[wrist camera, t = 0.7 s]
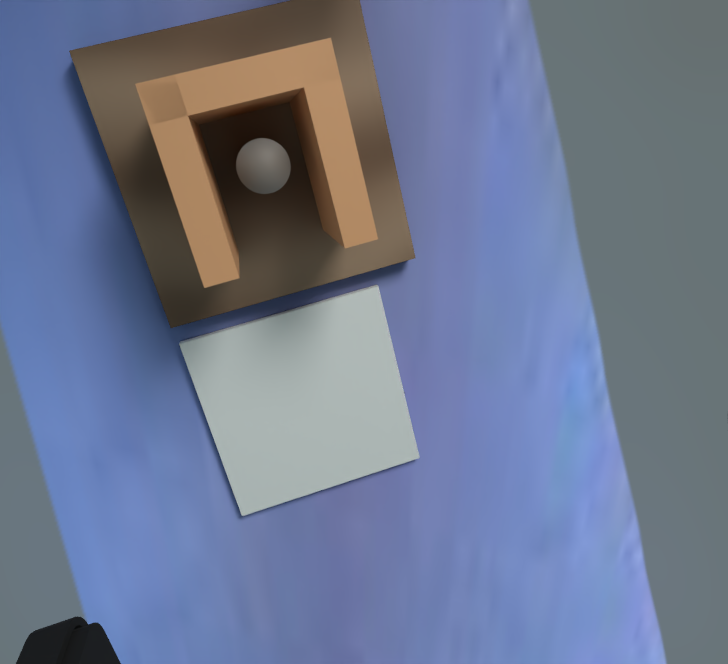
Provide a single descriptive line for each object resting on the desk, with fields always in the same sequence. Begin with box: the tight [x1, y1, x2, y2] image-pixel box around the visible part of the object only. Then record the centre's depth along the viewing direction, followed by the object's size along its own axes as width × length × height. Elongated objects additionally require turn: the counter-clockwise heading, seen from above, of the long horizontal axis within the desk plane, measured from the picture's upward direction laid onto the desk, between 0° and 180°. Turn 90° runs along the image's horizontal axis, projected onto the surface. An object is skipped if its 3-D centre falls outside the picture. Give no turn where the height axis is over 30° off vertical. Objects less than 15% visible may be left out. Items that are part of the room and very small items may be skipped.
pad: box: [179, 285, 420, 516], centre depth 31 cm, size 10×10×1 cm
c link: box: [135, 38, 378, 288], centre depth 24 cm, size 7×7×6 cm
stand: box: [69, 0, 415, 328], centre depth 25 cm, size 12×12×6 cm
